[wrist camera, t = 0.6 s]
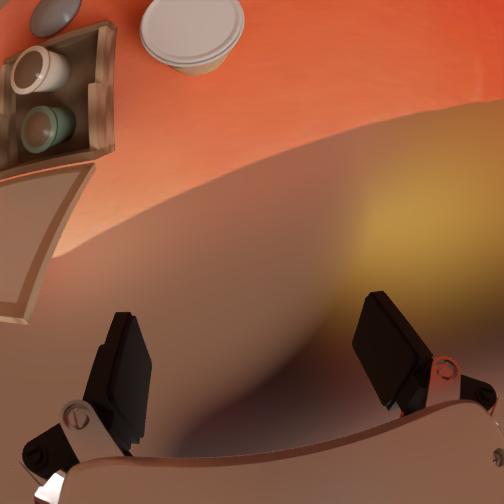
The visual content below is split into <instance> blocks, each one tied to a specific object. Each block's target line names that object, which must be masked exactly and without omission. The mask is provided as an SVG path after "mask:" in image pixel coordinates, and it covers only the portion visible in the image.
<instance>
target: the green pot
mask: <svg viewBox="0 0 504 504" xmlns="http://www.w3.org/2000/svg"><path fill="white" fill-rule="evenodd" d="M75 129H76V117H75V114H74V112H73V111H72V110H71V109H69V108H67V107H54V108H50V107H48V106H37V107H35V108H33V109H31V110H30V111H29V112H28V113H27V115H26V116H25V118H24V120H23V123H22V127H21V139H22V142H23V145H24V147H25V148H26V149H27V150H28V151H30V152H32V153H40V152H43V151H45V150H47V149H48V148H49V147H51V146H55V145H58V144H61V143H65V142H66V141H68V140H69V139H70V138H71V137H72V135H73V134H74V132H75Z"/></svg>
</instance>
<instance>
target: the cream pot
mask: <svg viewBox="0 0 504 504" xmlns="http://www.w3.org/2000/svg"><path fill="white" fill-rule="evenodd" d="M71 72H72V63H71V60H70V59H69V58H68V57H67V56H65V55H62V54H58V53H55V52H51V51H48V50H47V49H46V48H45V47H42V46H38V45H37V46H32V47H29V48H28V49H26V50H25V51H24V52H23V53H22V54H21V55H20V56H19V57H18V59H17V60H16V62H15V64H14V66H13V69H12V72H11V86H12V88H13V90H14V91H15V92H16V93H18V94H29V93H32V92H56V91H58V90H60V89H61V88H62V87H63V86H64V85H65V84H66V83H67V81H68V80H69V78H70V75H71Z"/></svg>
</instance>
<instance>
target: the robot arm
mask: <svg viewBox="0 0 504 504" xmlns="http://www.w3.org/2000/svg"><path fill="white" fill-rule="evenodd" d="M352 345H353V349H354V350H355V353H356V354H357V356H358V358H359V360H360V362H361V364H362V366H363V368H364V369H365V372H366V374H367V375H368V377H369V379H370V381H371V383H372V385H373V387H374V389H375V391H376V393H377V395H378V397H379V399H380V401H381V403H382V405H383V406H386V407H387V409H388V411H390V410H393V409H396V408H398V407H400V409H401V414H400V418H399V419H396V420H393V421H390V422H388V423H385V424H382V425H380V426H377V427H374V428H371V429H368V430H365V431H361V432H358V433H355V434H351V435H348V436H345V437H341V438H337V439H333V440H329V441H325V442H321V443H317V444H312V445H308V446H303V447H298V448H292V449H287V450H281V451H274V452H267V453H260V454H251V455H242V456H230V457H213V458H158V457H134V456H133V455H132V454H131V453H130V451H129V450H130V448H131V443H134V444H139V441H140V437H141V438H142V437H144V430H145V419H146V409H147V401H148V393H149V385H150V378H151V370H152V362H151V359H150V356H149V353H148V351H147V348H146V345H145V343H144V340H143V337H142V334H141V331H140V328H139V325H138V322H137V319H136V317H135V316H132V315H131V313H130V312H116V313H115V315H114V318H113V321H112V323H111V326H110V329H109V332H108V335H107V338H106V341H105V344H103V345H100V346H99V348H98V351H97V354H96V357H95V360H94V363H93V366H92V370H91V373H90V376H89V379H88V383H87V386H86V389H85V393H84V396H83V400H73V401H70V402H69V403H67V404H65V405H64V407H63V408H62V409H61V412H60V414H59V421H60V423H59V424H57V425H55V426H54V427H52V428H50V429H49V430H47V431H46V432H44V433H43V434H41V435H39V436H38V437H36V438H34V439H33V440H31V441H29V442H28V443H27V444H26V445H25V447H24V449H23V453H22V458H23V461H22V463H20V462H19V461H18V462H17V463H16V465H15V466H14V467H13V468H12V470H11V471H10V472H9V473H8V475H7V476H6V477H5V478H4V480H3V481H2V482H1V483H0V504H57V503H58V504H504V399H502V398H501V397H498V398H497V397H496V392H495V390H494V389H493V387H492V386H491V385H490V384H488V383H485V382H482V381H479V380H476V379H473V378H470V377H467V376H464V375H461V371H460V368H459V366H458V364H457V363H456V362H455V361H454V360H453V359H451V358H449V357H444V356H442V357H438V358H436V359H435V360H433V359H432V356H433V354H432V353H431V352H430V350H429V349H428V348H427V346H426V345H425V344H424V342H423V341H422V339H421V338H420V337H419V336H418V334H417V333H416V331H415V330H414V329H413V327H412V326H411V325H410V324H409V322H408V321H407V320H406V318H405V317H404V316H403V315H402V313H401V312H400V311H399V310H398V308H397V307H396V306H395V304H394V303H393V302H392V301H391V300H390V298H389V297H388V296H387V295H386V293H384V291H377V292H371V293H370V294H369V295H368V296H367V297H366V298H365V302H364V305H363V309H362V312H361V315H360V319H359V322H358V325H357V328H356V331H355V335H354V338H353V341H352Z"/></svg>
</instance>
